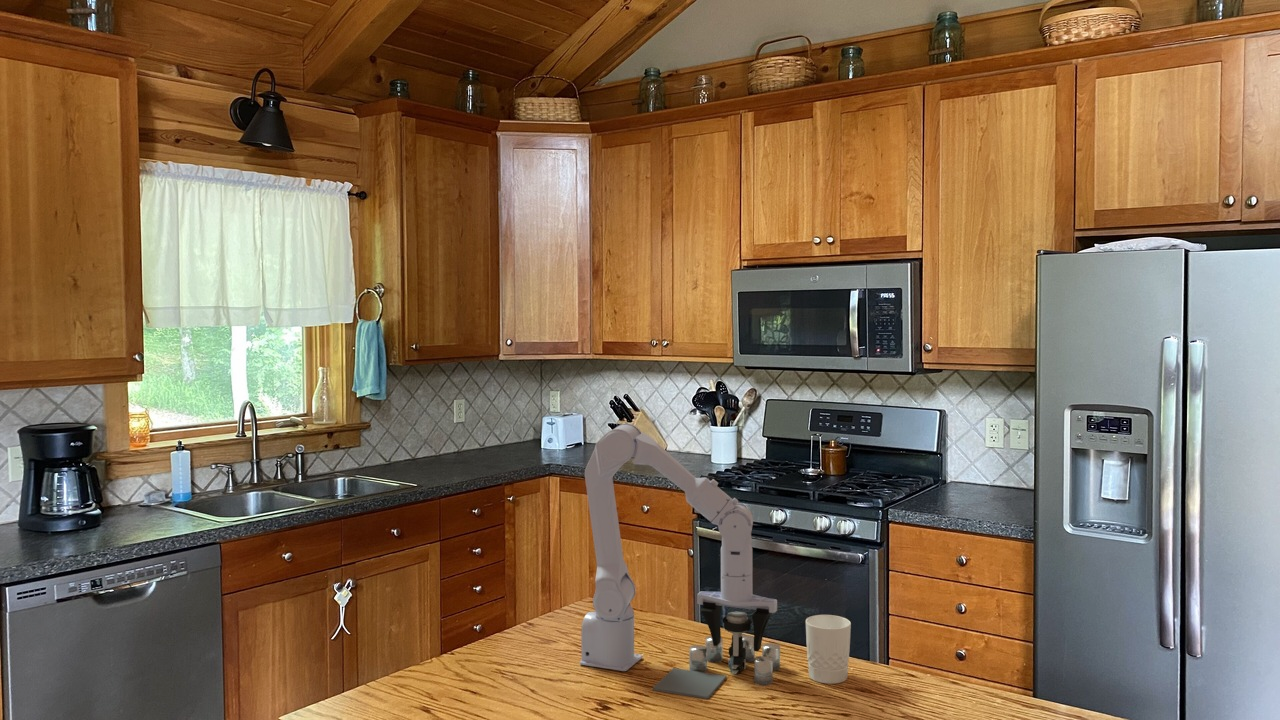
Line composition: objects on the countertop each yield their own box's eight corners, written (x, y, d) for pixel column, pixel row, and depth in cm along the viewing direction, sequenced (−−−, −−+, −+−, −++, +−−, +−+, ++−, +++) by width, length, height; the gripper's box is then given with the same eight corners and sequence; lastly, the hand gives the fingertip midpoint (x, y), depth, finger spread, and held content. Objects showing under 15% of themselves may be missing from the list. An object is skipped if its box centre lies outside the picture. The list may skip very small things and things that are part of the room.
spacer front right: (751, 683, 166) (751, 661, 166) (757, 677, 169) (757, 655, 169) (769, 686, 165) (769, 663, 165) (774, 679, 168) (774, 657, 168)
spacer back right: (760, 669, 173) (760, 647, 173) (765, 663, 176) (765, 642, 176) (777, 672, 172) (777, 650, 172) (782, 665, 175) (782, 644, 175)
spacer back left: (703, 661, 177) (703, 639, 177) (708, 655, 180) (708, 634, 180) (719, 663, 176) (719, 642, 176) (724, 657, 179) (724, 636, 179)
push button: (748, 678, 169) (748, 622, 168) (718, 675, 170) (718, 620, 170) (753, 664, 175) (753, 611, 175) (725, 662, 177) (725, 609, 176)
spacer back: (735, 660, 178) (735, 639, 177) (740, 655, 180) (740, 634, 180) (752, 663, 176) (752, 641, 176) (756, 657, 179) (756, 636, 179)
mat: (652, 690, 164) (652, 687, 164) (673, 670, 173) (673, 667, 173) (707, 699, 160) (707, 696, 160) (726, 678, 169) (726, 675, 169)
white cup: (796, 677, 169) (797, 622, 169) (820, 665, 175) (821, 611, 174) (835, 689, 164) (835, 632, 163) (858, 676, 170) (859, 621, 169)
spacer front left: (686, 671, 172) (686, 649, 172) (692, 665, 175) (692, 644, 175) (703, 674, 171) (703, 652, 171) (709, 667, 174) (709, 646, 174)
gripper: (781, 570, 173) (781, 644, 173) (705, 563, 179) (706, 634, 179) (771, 581, 166) (771, 657, 167) (693, 573, 172) (693, 647, 173)
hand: (736, 646), depth 173 cm, fingers open, 7 cm apart
